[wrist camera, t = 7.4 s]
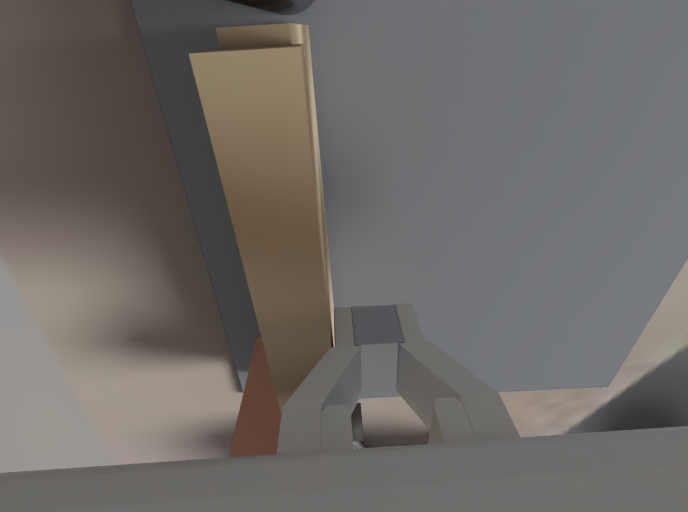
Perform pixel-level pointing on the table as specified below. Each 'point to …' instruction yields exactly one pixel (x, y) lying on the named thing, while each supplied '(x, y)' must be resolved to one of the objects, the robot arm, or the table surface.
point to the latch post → (257, 410)
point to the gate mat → (470, 170)
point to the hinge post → (278, 5)
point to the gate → (274, 189)
